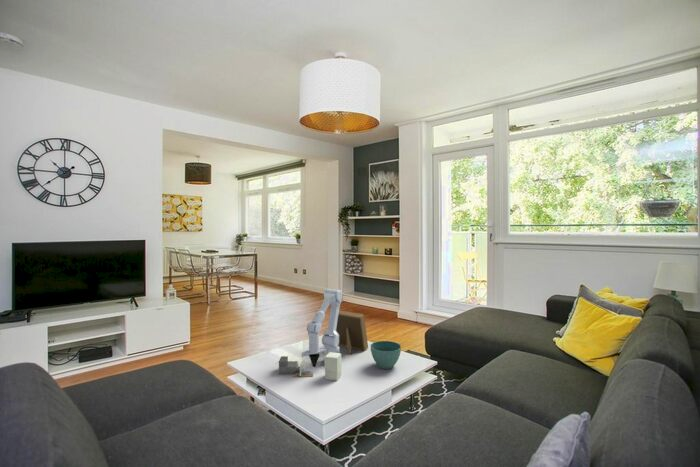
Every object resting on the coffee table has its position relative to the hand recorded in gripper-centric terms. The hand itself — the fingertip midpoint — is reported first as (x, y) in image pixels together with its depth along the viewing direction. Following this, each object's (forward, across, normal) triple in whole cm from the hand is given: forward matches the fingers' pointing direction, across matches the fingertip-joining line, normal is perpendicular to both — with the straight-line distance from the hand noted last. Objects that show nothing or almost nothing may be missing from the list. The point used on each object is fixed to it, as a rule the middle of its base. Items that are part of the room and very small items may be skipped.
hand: (314, 366), depth 203 cm
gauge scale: (+2, +8, +3) cm, 9 cm away
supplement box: (+3, -6, +13) cm, 15 cm away
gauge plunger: (+2, +11, -3) cm, 12 cm away
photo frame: (+3, -34, -20) cm, 39 cm away
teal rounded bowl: (+3, -40, +14) cm, 43 cm away
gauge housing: (+2, +13, -7) cm, 15 cm away
